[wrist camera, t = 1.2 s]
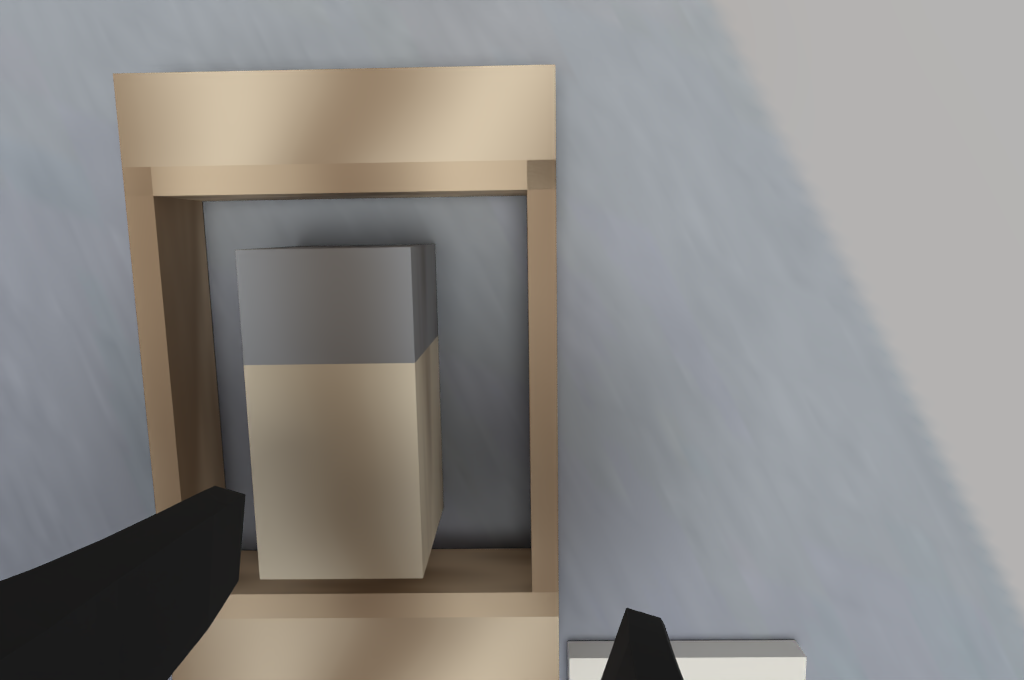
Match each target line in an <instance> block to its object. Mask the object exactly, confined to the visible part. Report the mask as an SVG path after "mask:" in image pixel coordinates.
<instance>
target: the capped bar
mask: <svg viewBox="0 0 1024 680" xmlns="http://www.w3.org/2000/svg"><path fill="white" fill-rule="evenodd" d="M235 257H236V270H237V284H238V297H239V310H240V323H241V336H242V350H243V363H244V376H245V389H246V403H247V416H248V429H249V442H250V455H251V469H252V482H253V495H254V508H255V522H256V535H257V548H258V561H259V574H260V579H399V578H423V576H424V573H425V570H426V566H427V563H428V559H429V556H430V552H431V549H432V546H433V542H434V539H435V535H436V532H437V528H438V525H439V521H440V518H441V515H442V511H443V508H444V504H443V473H442V442H441V411H440V380H439V349H438V318H437V287H436V257H435V244H413V245H350V246H295V247H277V248H259V249H241V250H235Z"/></svg>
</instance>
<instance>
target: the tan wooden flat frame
mask: <svg viewBox="0 0 1024 680" xmlns="http://www.w3.org/2000/svg"><path fill="white" fill-rule="evenodd" d="M113 79H114V89H115V99H116V109H117V119H118V130H119V140H120V150H121V160H122V170H123V181H124V191H125V201H126V211H127V221H128V232H129V242H130V252H131V262H132V272H133V283H134V293H135V303H136V313H137V323H138V334H139V344H140V354H141V364H142V374H143V385H144V395H145V405H146V415H147V425H148V436H149V446H150V456H151V466H152V477H153V487H154V497H155V507H156V514H157V513H159V512H161V511H163V510H165V509H167V508H169V507H171V506H173V505H175V504H177V503H179V502H181V501H183V500H185V499H187V498H189V497H192V496H194V495H196V494H198V493H200V492H202V491H204V490H206V489H209V488H211V487H213V486H218V487H221V488H224V489H226V488H225V475H224V463H223V451H222V439H221V426H220V414H219V402H218V390H217V378H216V365H215V353H214V341H213V329H212V316H211V304H210V292H209V280H208V267H207V255H206V243H205V231H204V218H203V206H202V201H234V200H293V199H351V198H410V197H468V196H527V260H528V341H529V421H530V501H531V548H510V549H431V552H430V556H429V559H428V563H427V566H426V570H425V573H424V576H423V578H399V579H260V574H259V561H258V550H257V551H241V558H240V571H239V581H238V583H237V584H236V586H235V588H234V589H233V591H232V592H231V594H230V596H229V597H228V599H227V601H226V602H225V604H224V605H223V607H222V609H221V610H220V612H219V613H218V615H217V616H216V618H215V619H214V621H213V622H212V624H211V625H210V627H209V629H208V630H207V631H206V633H205V634H204V635H203V636H202V638H201V639H200V640H199V641H198V643H197V644H196V645H195V646H194V648H193V649H192V650H191V651H190V653H189V654H188V655H187V656H186V658H185V659H184V660H183V661H182V663H181V664H180V665H179V666H178V667H177V669H176V670H175V671H174V672H173V674H172V680H559V586H558V425H557V263H556V101H555V65H512V66H463V67H414V68H365V69H316V70H267V71H218V72H170V73H121V74H113Z"/></svg>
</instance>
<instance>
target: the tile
mask: <svg viewBox="0 0 1024 680" xmlns="http://www.w3.org/2000/svg"><path fill="white" fill-rule="evenodd" d="M670 643H671V646H672V649H673V652H674V655H675V658H676V660H677V663H678V666H679V669H680V671H681V674H682V677H683V679H684V680H805V677H806V656H805V654H804V653H803V651H802V650H801V648H800V647H799V645H798V644H797V642H796V641H795V640H708V641H670ZM613 644H614V641H568V680H601V678H602V675H603V672H604V669H605V666H606V664H607V661H608V658H609V655H610V652H611V650H612V647H613Z"/></svg>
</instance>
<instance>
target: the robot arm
mask: <svg viewBox="0 0 1024 680" xmlns="http://www.w3.org/2000/svg"><path fill="white" fill-rule="evenodd" d="M244 504H245V494H241V493H238V492H234V491H231V490H228V489H224V488H221V487H218V486H213V487H211V488H209V489H206V490H204V491H202V492H200V493H198V494H196V495H194V496H192V497H189V498H187V499H185V500H183V501H181V502H179V503H177V504H175V505H173V506H171V507H169V508H167V509H165V510H163V511H161V512H159V513H157V514H155V515H153V516H151V517H149V518H147V519H145V520H142V521H140V522H138V523H136V524H134V525H132V526H130V527H128V528H126V529H123V530H121V531H119V532H117V533H115V534H113V535H111V536H109V537H107V538H104V539H102V540H100V541H98V542H95V543H93V544H91V545H88V546H86V547H84V548H81V549H79V550H77V551H74V552H72V553H70V554H67V555H65V556H63V557H60V558H58V559H56V560H53V561H51V562H49V563H46V564H44V565H41V566H39V567H36V568H34V569H31V570H29V571H26V572H24V573H21V574H18V575H16V576H13V577H10V578H8V579H5V580H2V581H0V680H168V678H169V677H170V676H171V675H172V674H173V672H174V671H175V670H176V669H177V667H178V666H179V665H180V664H181V663H182V661H183V660H184V659H185V658H186V656H187V655H188V654H189V653H190V651H191V650H192V649H193V648H194V646H195V645H196V644H197V643H198V641H199V640H200V639H201V638H202V636H203V635H204V634H205V633H206V631H207V630H208V629H209V627H210V625H211V624H212V622H213V621H214V619H215V618H216V616H217V615H218V613H219V612H220V610H221V609H222V607H223V605H224V604H225V602H226V601H227V599H228V597H229V596H230V594H231V592H232V591H233V589H234V588H235V586H236V584H237V583H238V581H239V571H240V558H241V544H242V531H243V517H244ZM601 680H684V679H683V677H682V674H681V671H680V669H679V666H678V663H677V660H676V658H675V655H674V652H673V649H672V646H671V643H670V640H669V637H668V634H667V631H666V628H665V625H664V623H663V621H662V620H661V618H659V617H656V616H652V615H649V614H645V613H642V612H639V611H635V610H632V609H629V608H626V610H625V613H624V616H623V619H622V622H621V624H620V627H619V630H618V633H617V636H616V638H615V641H614V644H613V647H612V650H611V652H610V655H609V658H608V661H607V664H606V666H605V669H604V672H603V675H602V678H601Z"/></svg>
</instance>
